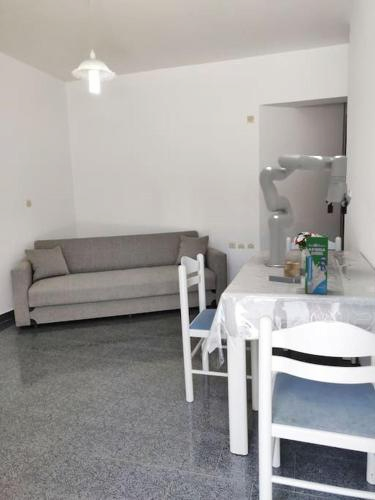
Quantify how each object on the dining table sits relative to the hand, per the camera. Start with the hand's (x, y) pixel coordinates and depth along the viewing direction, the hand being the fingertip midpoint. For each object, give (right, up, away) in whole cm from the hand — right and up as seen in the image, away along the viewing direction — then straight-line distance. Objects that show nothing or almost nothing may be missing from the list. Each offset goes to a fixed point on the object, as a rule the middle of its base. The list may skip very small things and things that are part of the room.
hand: (336, 213), depth 201 cm
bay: (-26, -34, -7) cm, 44 cm away
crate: (-24, -33, -2) cm, 41 cm away
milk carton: (-21, -38, -29) cm, 52 cm away
